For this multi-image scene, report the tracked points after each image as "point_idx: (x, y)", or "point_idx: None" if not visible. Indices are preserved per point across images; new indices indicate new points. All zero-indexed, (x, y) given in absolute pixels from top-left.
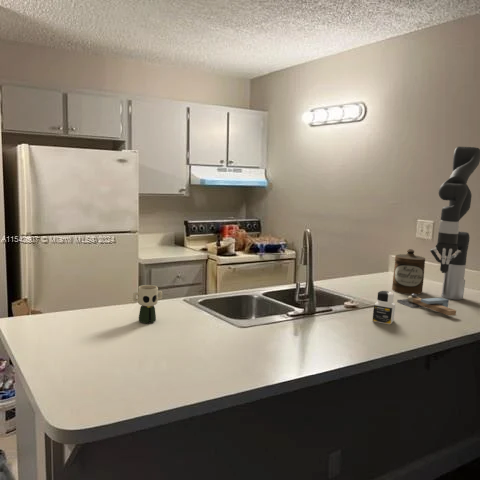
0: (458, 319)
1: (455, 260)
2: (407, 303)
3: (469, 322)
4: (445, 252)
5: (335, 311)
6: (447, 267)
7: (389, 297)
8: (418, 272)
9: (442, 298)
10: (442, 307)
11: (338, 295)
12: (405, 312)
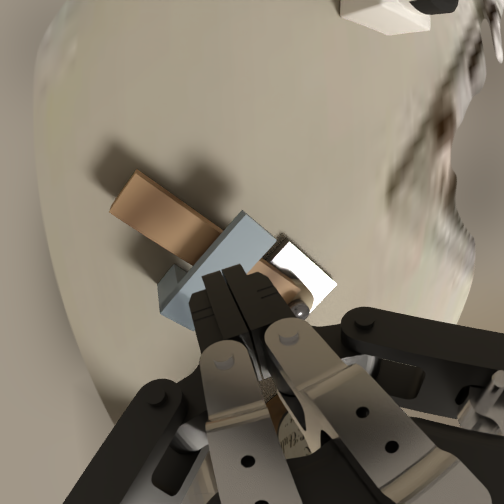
0: (99, 186)
1: (116, 434)
2: (307, 260)
3: (56, 172)
4: (378, 488)
5: (462, 60)
6: (204, 326)
7: None
8: (300, 450)
9: (187, 317)
10: (172, 220)
11: (458, 229)
12: (309, 149)
